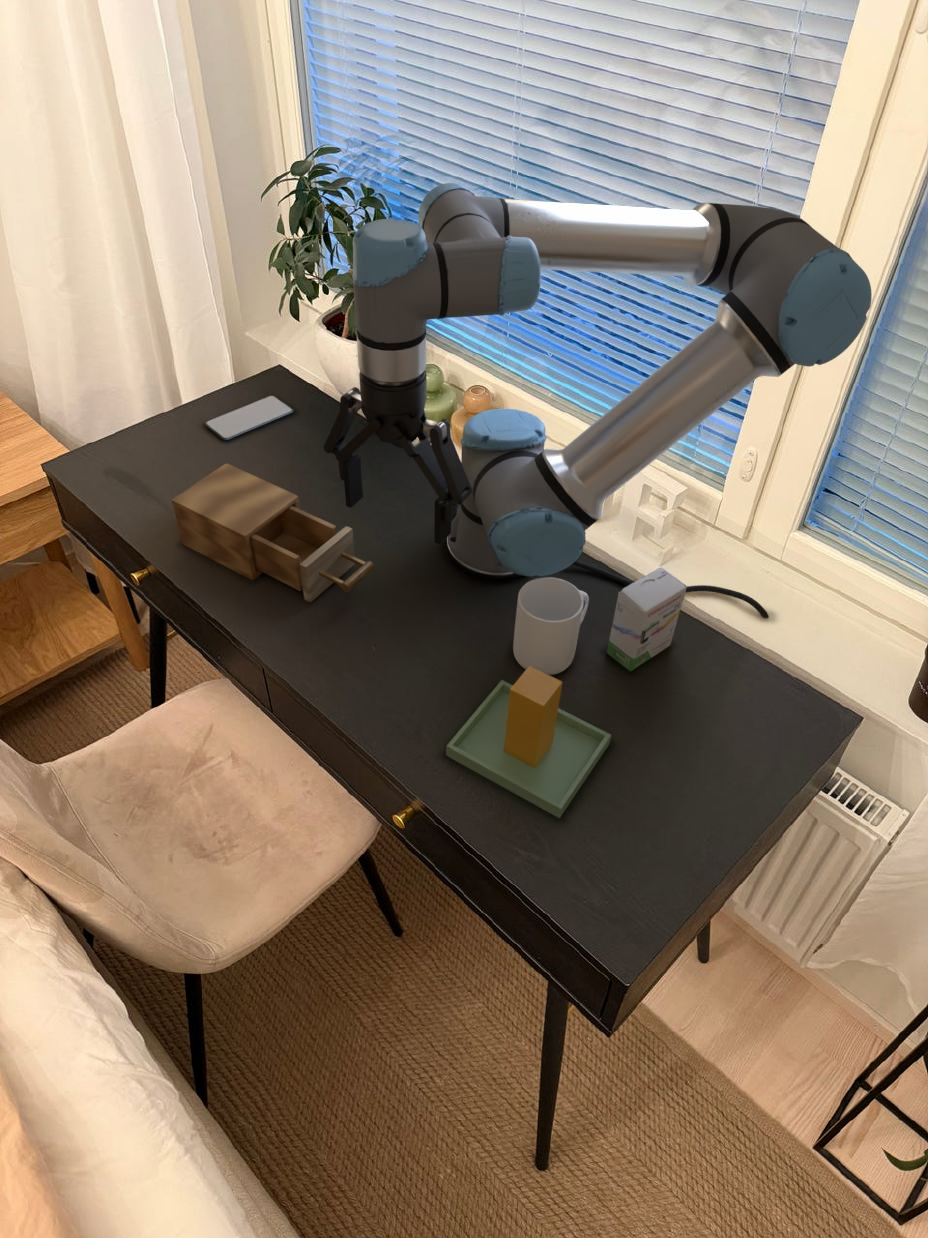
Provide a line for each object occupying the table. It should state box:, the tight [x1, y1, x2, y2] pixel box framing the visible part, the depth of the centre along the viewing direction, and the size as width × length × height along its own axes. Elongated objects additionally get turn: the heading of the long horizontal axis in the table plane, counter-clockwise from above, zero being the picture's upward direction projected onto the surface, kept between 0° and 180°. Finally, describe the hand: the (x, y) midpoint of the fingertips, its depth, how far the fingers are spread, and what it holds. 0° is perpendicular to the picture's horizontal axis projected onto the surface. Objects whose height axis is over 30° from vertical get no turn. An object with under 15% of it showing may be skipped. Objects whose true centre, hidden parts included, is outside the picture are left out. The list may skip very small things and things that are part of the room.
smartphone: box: [204, 395, 295, 441], centre depth 164 cm, size 7×1×15 cm
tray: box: [445, 679, 612, 819], centre depth 112 cm, size 16×13×2 cm
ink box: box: [606, 567, 688, 672], centre depth 121 cm, size 8×5×12 cm, turn 129°
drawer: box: [249, 505, 375, 603], centre depth 131 cm, size 19×10×7 cm, turn 57°
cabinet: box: [171, 462, 301, 581], centre depth 136 cm, size 15×12×9 cm
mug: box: [512, 576, 590, 676], centre depth 121 cm, size 9×12×11 cm
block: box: [504, 666, 563, 768], centre depth 108 cm, size 4×4×12 cm
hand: (397, 519), depth 114 cm, fingers open, 13 cm apart
